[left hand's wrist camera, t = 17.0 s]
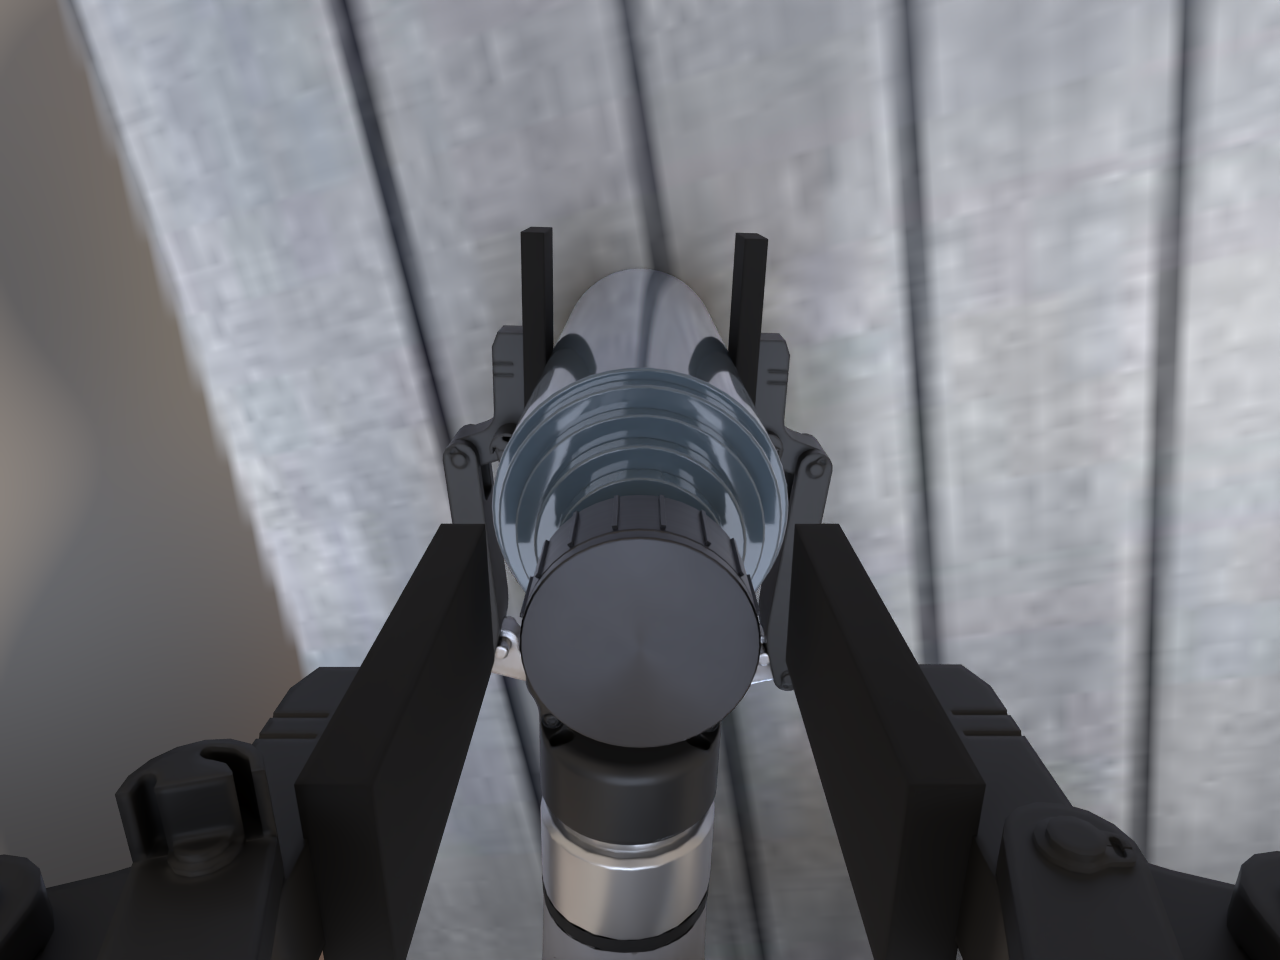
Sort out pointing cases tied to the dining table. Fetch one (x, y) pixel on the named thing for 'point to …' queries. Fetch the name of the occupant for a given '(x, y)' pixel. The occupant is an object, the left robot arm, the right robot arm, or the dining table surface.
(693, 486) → the bottle
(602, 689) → the cap
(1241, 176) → the dining table surface
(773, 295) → the dining table surface
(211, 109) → the dining table surface
